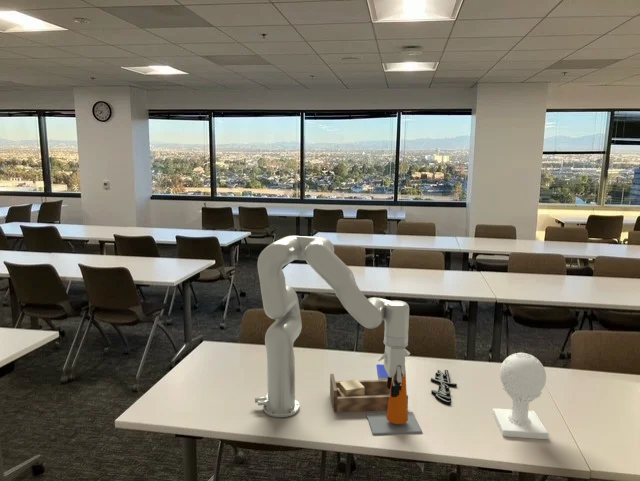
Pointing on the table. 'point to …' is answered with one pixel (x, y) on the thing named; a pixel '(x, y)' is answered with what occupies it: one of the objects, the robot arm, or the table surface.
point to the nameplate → (443, 387)
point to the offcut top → (351, 387)
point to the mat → (392, 424)
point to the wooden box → (361, 397)
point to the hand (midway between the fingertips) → (393, 391)
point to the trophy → (521, 396)
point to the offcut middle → (340, 394)
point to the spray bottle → (398, 401)
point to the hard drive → (381, 372)
